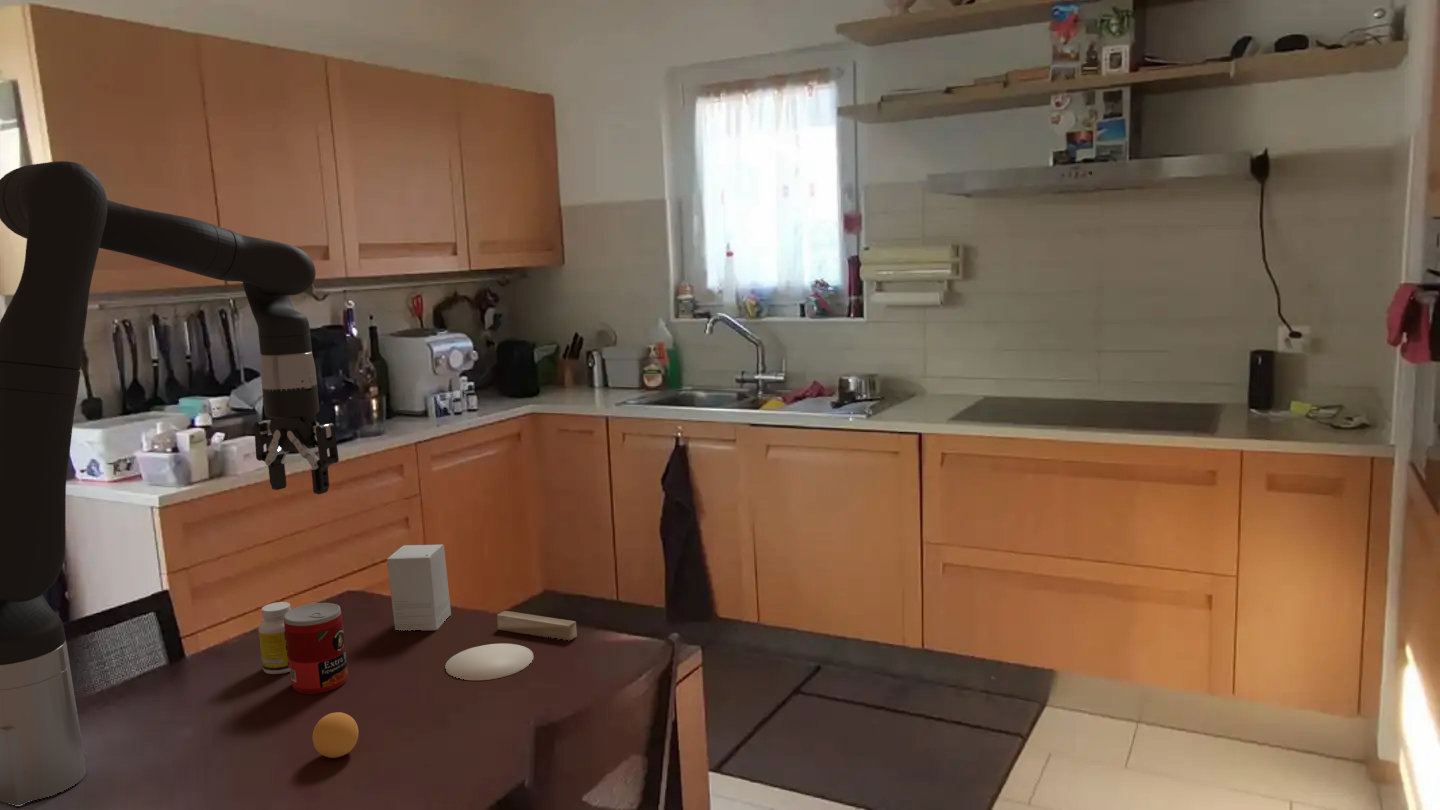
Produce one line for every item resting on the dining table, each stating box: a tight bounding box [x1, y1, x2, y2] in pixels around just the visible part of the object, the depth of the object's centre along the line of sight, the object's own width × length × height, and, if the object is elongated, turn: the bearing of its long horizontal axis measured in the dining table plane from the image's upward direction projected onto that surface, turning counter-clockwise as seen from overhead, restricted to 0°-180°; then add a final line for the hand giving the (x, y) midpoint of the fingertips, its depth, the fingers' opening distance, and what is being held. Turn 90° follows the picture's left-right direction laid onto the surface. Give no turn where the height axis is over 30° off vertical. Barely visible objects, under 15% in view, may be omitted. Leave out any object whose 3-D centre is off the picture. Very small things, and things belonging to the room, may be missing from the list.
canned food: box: [284, 602, 349, 695], centre depth 151 cm, size 8×8×11 cm
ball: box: [312, 711, 360, 759], centre depth 130 cm, size 5×5×5 cm
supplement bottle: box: [258, 601, 292, 675], centre depth 157 cm, size 5×5×10 cm
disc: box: [444, 643, 534, 681], centre depth 157 cm, size 13×13×1 cm
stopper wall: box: [496, 610, 578, 642], centre depth 167 cm, size 2×14×2 cm, turn 64°
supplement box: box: [386, 543, 452, 632], centre depth 173 cm, size 7×7×13 cm
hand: (300, 490), depth 156 cm, fingers open, 8 cm apart
